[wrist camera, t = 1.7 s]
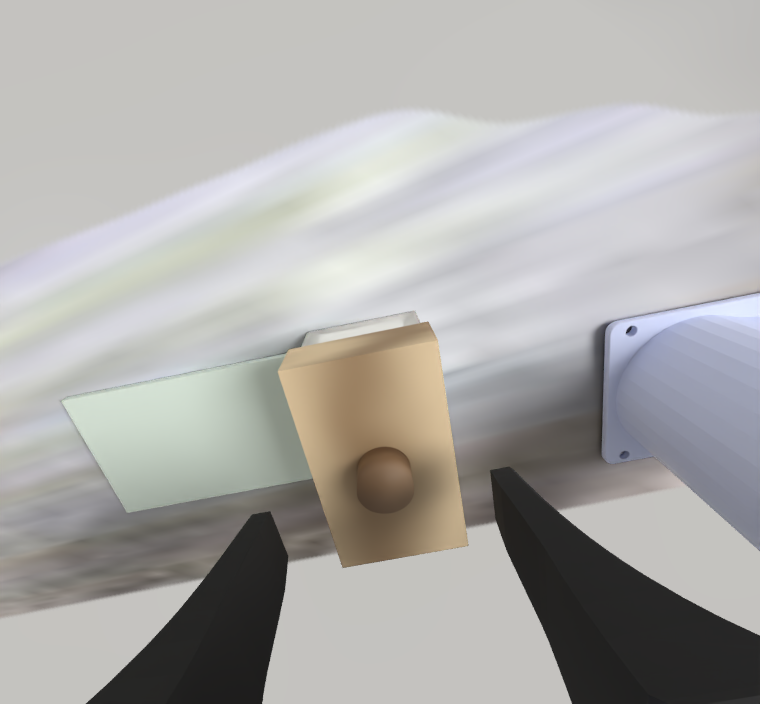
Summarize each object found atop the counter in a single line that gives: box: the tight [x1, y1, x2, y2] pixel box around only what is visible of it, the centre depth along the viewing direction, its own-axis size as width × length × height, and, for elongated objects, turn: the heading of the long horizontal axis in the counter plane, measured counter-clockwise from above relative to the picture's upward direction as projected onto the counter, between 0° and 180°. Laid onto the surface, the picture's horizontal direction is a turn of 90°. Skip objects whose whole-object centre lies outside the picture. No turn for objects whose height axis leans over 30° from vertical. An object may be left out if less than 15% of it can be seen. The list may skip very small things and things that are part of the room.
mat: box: [61, 353, 313, 513], centre depth 19 cm, size 11×7×1 cm, turn 101°
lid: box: [278, 322, 468, 568], centre depth 15 cm, size 5×9×3 cm, turn 11°
